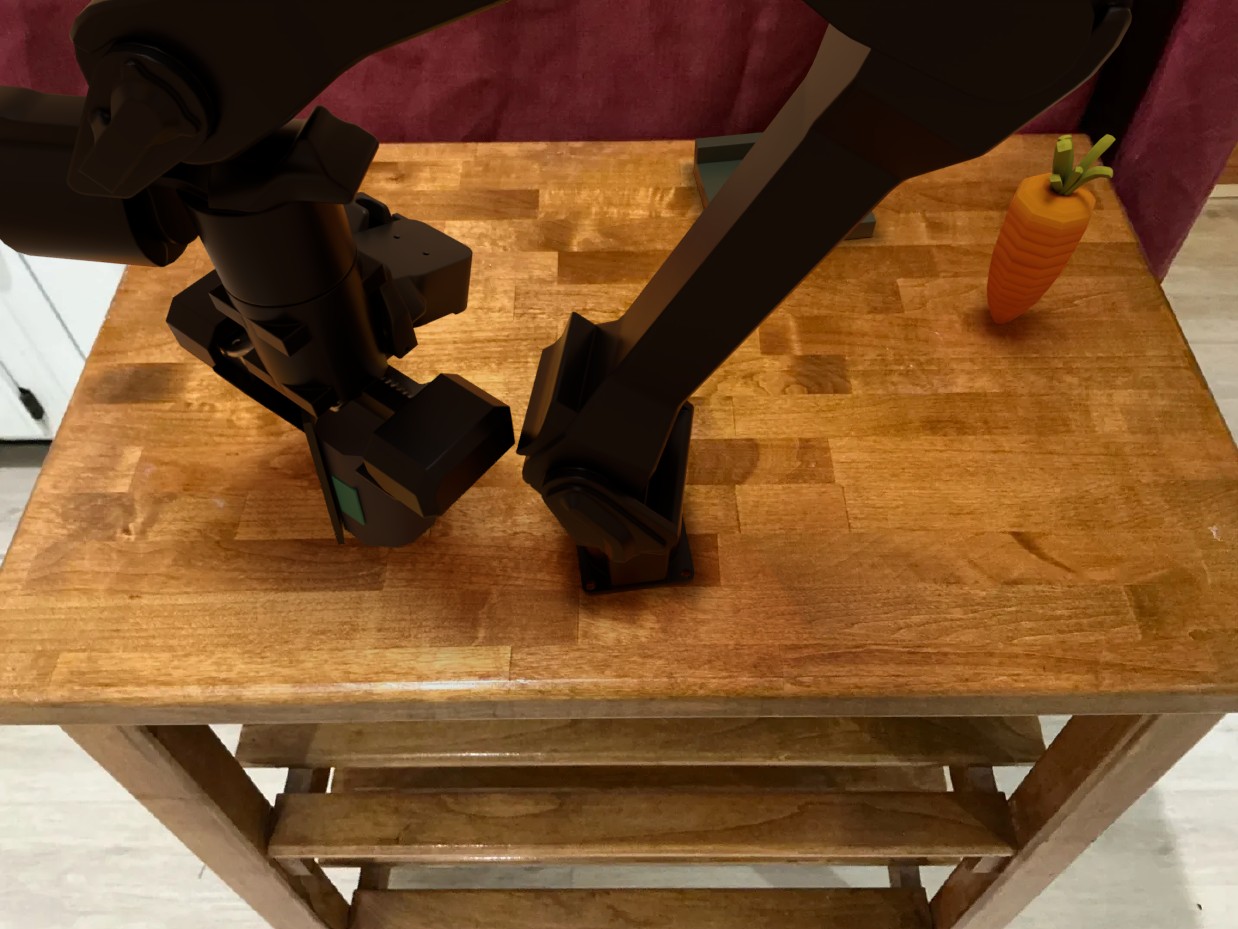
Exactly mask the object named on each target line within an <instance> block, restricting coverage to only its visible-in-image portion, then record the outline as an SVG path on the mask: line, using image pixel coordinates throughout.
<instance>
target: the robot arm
mask: <svg viewBox="0 0 1238 929" xmlns="http://www.w3.org/2000/svg"><path fill="white" fill-rule="evenodd" d="M511 1H512V0H91V1H90V2H89V3H88V4H87V5H86V6H85V7H84V8H83V9H82V10H81V12H80V13H78V15H76V17H75V18H74V20H73V22H72V24H71V27H70V29H69V32H68V37H69V39H70V41H71V43H72V44H73V47H74V53H75V60H76V62H77V64H78V66H79V69H80V71H81V74H82V76H83V77H84V79H85V82H86V84H87V87H88V88H87V92H86V95H75V94H61V93H49V92H42V91H39V90H35V89H31V88H29V87H24V86H14V85H3V84H2V85H1V84H0V241H1V242H2V243H3V244H4V246H7V247H8V248H10V249H12V250H13V251H14V252H16V253H19V254H23V255H26V256H29V257H39V258H48V259H49V258H51V259H61V260H73V261H74V260H75V261H83V262H95V263H104V264H105V263H106V264H115V265H124V266H125V265H127V266H136V267H148V268H166V267H167V266H170V265H171V264H173V263H175V262H176V261H177V260H178V259H179V258H180V257H181V256H182V255H183V254H184V253H185V251H186V249H187V248H188V245H190V244H191V243H193V242H195V241H196V240H197V239H198V238H199V239H200V241H201V243H202V245H203V248H204V249H205V252H206V254H207V255H208V257H209V259H210V262H211V263H212V266H213V267H214V268H213V269H212V270H211V271H209V272H208V273H206V274H204V275H203V276H202V277H201V278H199V279H197V280H196V281H194V282H193V283H192V284H190V285H189V286H187V287H186V288H184V289H183V290H182V291H180V292H178V293H177V294H175V295H174V296H173V297H172V299H171V302H170V305H169V308H168V311H167V314H166V318H165V323H166V324H167V326H168V328H169V330H170V331H171V333H172V334H173V336H174V339H175V340H176V341H177V343H178V344H179V346H180V347H181V348H182V349H184V350H185V351H187V352H188V353H189V354H191V355H192V356H194V357H195V358H197V359H198V360H199V361H201V362H202V363H204V364H205V365H206V366H208V367H209V368H211V369H212V371H213V372H214V373H215V374H216V375H218V376H219V377H220V378H221V379H223V380H224V381H225V382H227V383H229V384H230V385H232V386H233V387H234V388H236V389H237V390H239V391H240V392H241V393H243V394H244V395H245V396H247V397H249V398H250V399H252V400H254V401H255V402H256V403H257V404H259V405H261V406H262V407H264V408H266V410H269V411H270V412H272V413H273V414H275V415H276V416H278V417H279V418H281V419H283V420H284V421H286V422H287V423H288V424H290V425H291V426H293V427H294V428H296V429H298V430H299V431H300V432H302V433H303V434H305V431H304V427H303V424H302V415H301V407H302V408H303V409H305V410H306V411H308V412H309V413H311V414H312V415H314V416H315V417H316V418H319V417H320V416H321V415H322V414H324V413H325V412H326V411H327V410H328V409H331V410H332V411H335V412H337V411H340V410H341V409H343V408H344V407H345V406H346V405H347V404H348V403H349V402H350V401H352V400H353V401H354V402H356V403H357V404H359V405H360V406H362V407H363V408H365V409H366V410H368V411H369V412H371V413H372V414H374V415H375V416H377V417H378V418H380V419H381V420H383V421H384V423H383V424H382V425H381V426H380V427H378V428H377V429H376V430H375V431H374V432H373V433H372V435H371V438H370V440H369V443H368V445H367V448H366V450H365V453H364V455H363V458H362V459H363V461H364V463H363V464H361V465H360V466H359V467H358V468H357V469H356V470H355V471H356V473H357V474H359V475H360V476H361V477H363V478H364V479H366V480H367V481H369V482H370V483H371V484H373V485H374V486H376V487H377V488H378V489H380V490H381V491H383V492H384V493H385V494H387V495H388V496H390V497H391V498H393V499H395V500H399V501H400V502H402V503H403V504H405V505H406V506H408V507H409V508H410V509H412V510H413V511H415V512H416V513H417V514H419V515H420V516H422V517H423V518H428V517H436V516H437V517H442V516H443V515H444V514H445V513H446V512H448V510H449V509H450V508H451V507H452V506H454V504H455V503H457V501H459V499H461V497H462V496H463V495H464V494H465V493H466V492H467V491H468V490H470V489H471V487H472V486H474V485H475V484H476V482H477V481H479V480H480V479H481V478H482V477H483V476H484V475H485V474H486V473H487V472H488V471H489V470H490V469H491V468H492V467H493V466H494V465H495V464H496V463H497V462H498V461H499V460H500V459H501V458H502V457H503V456H504V455H505V454H506V453H507V452H508V451H509V450H510V449H511V448H512V447H514V445H515V444H516V437H515V436H516V434H515V427H514V421H513V417H512V416H513V415H512V410H511V406H510V405H509V404H507V403H506V402H504V401H502V400H500V399H499V398H497V397H496V396H494V395H492V394H491V393H489V392H487V391H486V390H484V389H483V388H481V387H479V386H478V385H476V384H475V383H473V382H471V381H469V380H468V379H466V378H465V377H463V376H462V375H460V374H458V373H446V372H440V373H439V374H438V375H437V376H435V377H434V378H433V379H432V380H431V381H427V382H425V383H419V382H418V381H416V380H414V379H413V378H411V377H410V376H408V375H406V374H405V373H403V372H402V371H400V370H399V369H398V368H395V367H394V366H393V365H391V364H389V363H388V361H389V360H390V359H391V358H392V357H395V358H397V359H399V360H401V359H403V358H404V357H406V356H407V355H408V354H409V353H410V352H411V351H413V350H414V349H415V348H417V347H418V346H419V342H418V338H417V335H416V333H415V329H417V328H421V327H423V326H425V325H429V324H430V323H433V322H435V321H438V320H439V319H440V320H441V319H443V318H444V317H447V316H449V315H451V314H453V315H455V316H457V315H459V314H462V313H463V312H465V311H466V310H467V308H468V303H469V294H470V293H469V291H470V282H471V275H472V274H471V273H472V263H473V256H474V255H473V254H474V253H473V250H472V248H471V247H470V246H468V245H467V244H465V243H463V242H461V241H459V240H457V239H456V238H454V237H452V236H450V235H449V234H446V233H444V232H443V231H440V230H439V229H437V228H436V227H433V226H432V225H430V224H428V223H426V222H425V221H421V220H418V219H412V218H408V217H406V216H404V215H402V214H401V213H400V212H395V213H391V211H390V209H389V206H388V205H387V204H385V203H384V202H383V201H381V200H378V199H377V198H374V197H373V196H372V195H369V194H367V193H365V192H364V191H359V190H360V188H361V186H362V184H363V182H364V180H365V178H366V175H367V174H368V171H369V169H370V167H371V166H372V163H373V161H374V160H375V157H376V155H377V154H378V151H379V149H380V141H379V139H378V137H377V136H375V135H374V134H372V133H371V132H369V131H368V130H366V129H364V128H363V127H362V126H360V125H358V124H356V123H354V122H350V121H346V120H344V119H342V118H339V117H338V116H336V115H334V114H333V113H332V111H330V110H329V109H328V108H327V107H326V106H325V105H322V104H317V105H315V106H314V107H313V108H312V110H311V112H310V113H309V116H308V117H306V118H296V117H297V116H298V115H299V114H300V113H301V112H302V111H303V110H304V109H306V107H307V106H309V105H310V104H311V103H312V102H313V101H314V100H315V99H316V98H318V97H319V95H321V94H322V93H323V92H324V91H325V90H326V89H328V87H329V86H331V85H332V84H333V83H334V82H336V80H337V79H338V78H339V77H341V76H342V75H343V74H344V73H346V72H348V71H349V70H351V68H353V67H355V66H356V65H357V64H359V63H361V62H362V61H363V60H365V59H366V58H368V57H370V56H373V55H375V54H378V53H380V52H383V51H386V50H388V49H390V48H393V47H395V46H398V45H400V44H401V45H402V44H403V43H406V42H409V41H412V40H413V39H417V38H419V37H421V36H422V37H423V36H424V35H426V34H429V33H431V32H434V31H437V30H439V29H442V28H444V27H448V26H450V25H452V24H455V23H457V22H460V21H462V20H465V19H467V18H470V17H473V16H475V15H477V14H481V13H483V12H486V11H488V10H491V9H493V8H495V7H499V6H502V5H503V4H506V3H509V2H511ZM801 1H802V2H804V4H806V5H807V6H808V7H809V8H811V9H812V10H813V11H814V12H815V13H817V14H818V15H819V16H820V17H821V18H822V19H824V20H825V21H826V22H827V23H828V25H827V28H826V31H825V33H824V35H823V38H822V40H821V42H820V43H821V44H820V46H819V48H818V50H817V53H816V55H815V58H814V61H813V62H812V65H811V67H810V68H809V70H808V72H807V74H806V76H805V77H804V79H803V80H802V81H801V83H800V85H799V86H798V87H797V88H796V90H795V91H794V92H793V93H792V95H791V96H790V97H789V98H788V100H787V101H786V102H785V104H784V105H783V106H782V108H781V109H780V110H779V111H778V112H777V114H776V115H775V117H774V118H773V120H772V121H771V122H770V123H769V125H768V126H767V128H766V129H765V130H764V131H763V132H764V133H763V134H762V135H761V136H760V138H759V139H758V140H757V142H756V143H755V144H754V146H753V147H752V148H751V150H750V151H749V152H748V153H747V155H746V156H745V157H744V159H743V160H742V161H741V163H740V164H739V165H738V166H737V168H736V169H735V170H734V172H733V173H732V174H731V176H730V177H729V178H728V179H727V181H726V182H725V183H724V185H723V186H722V187H721V189H720V190H719V191H718V193H717V194H716V195H715V196H714V198H713V199H712V200H711V202H710V203H709V204H708V206H707V207H706V208H705V209H703V211H702V212H701V213H700V215H698V217H697V218H696V220H695V221H694V222H693V224H692V225H691V226H690V227H689V229H688V230H687V232H686V233H685V234H684V236H682V238H681V239H680V240H679V242H678V243H677V245H675V247H674V248H673V250H671V252H670V254H669V255H668V256H667V257H666V259H665V260H664V261H663V263H662V264H661V266H660V267H659V268H658V269H657V271H656V272H655V273H654V275H653V276H652V277H651V278H650V280H649V281H648V282H647V284H646V285H645V286H644V287H643V289H642V290H641V291H640V293H639V294H638V295H637V296H636V298H635V299H634V301H633V302H632V303H631V304H630V306H629V307H628V308H627V310H626V311H625V312H624V313H623V314H622V315H621V316H620V317H619V318H617V319H615V320H609V321H605V322H600V323H594V322H592V321H591V320H589V319H588V318H586V317H584V316H583V315H581V314H580V313H578V312H576V311H571V312H570V314H569V317H568V320H567V322H566V324H565V327H564V330H563V332H562V334H561V336H559V338H557V339H556V340H555V342H553V343H552V344H550V345H548V346H546V347H544V348H542V350H541V353H540V357H539V361H538V365H537V369H536V372H535V376H534V380H533V384H532V388H531V391H530V396H529V400H528V402H527V408H526V411H525V415H524V418H523V423H522V426H521V430H520V435H519V438H518V441H517V442H518V443H517V445H516V450H515V454H516V455H518V456H521V457H524V461H523V465H522V470H521V478H522V480H523V481H524V483H525V484H526V485H530V487H531V488H532V490H534V491H535V492H537V493H538V494H539V495H540V496H541V499H542V501H543V503H544V504H545V505H546V507H547V508H548V509H549V511H550V512H551V513H552V515H553V516H554V517H555V519H556V520H557V522H558V523H559V524H560V525H561V527H562V528H563V529H564V531H565V532H566V533H567V535H568V536H569V537H570V539H571V540H572V541H573V542H574V544H575V545H576V554H577V555H576V556H577V562H578V569H579V577H580V578H579V579H580V586H581V592H582V593H583V594H584V595H585V596H587V597H596V596H604V595H610V594H611V595H613V594H620V593H621V594H622V593H628V592H636V591H643V590H650V589H657V588H667V587H673V586H682V585H689V584H691V583H693V582H694V580H695V576H696V575H695V574H696V571H695V567H694V562H693V557H692V553H691V548H690V547H691V546H690V543H689V537H688V533H687V527H686V524H685V518H684V514H683V510H684V498H685V491H686V490H685V489H686V482H687V481H686V480H687V472H688V465H689V455H690V450H691V449H690V448H691V438H692V432H693V431H692V430H693V425H694V423H693V422H694V416H695V406H694V404H692V403H691V402H690V401H688V400H689V399H690V398H691V397H692V396H693V395H694V394H695V393H696V391H698V390H699V389H700V387H702V385H703V384H705V383H706V382H707V381H708V379H709V378H710V377H712V375H713V374H714V373H715V372H717V370H718V369H719V368H720V367H721V366H722V365H723V364H724V363H725V362H726V361H727V360H728V359H729V358H730V357H731V356H732V355H733V354H734V353H735V352H736V351H737V350H738V349H739V348H740V346H742V345H743V343H744V342H745V341H746V340H748V339H749V338H750V337H751V335H752V334H753V333H754V332H755V331H757V330H758V328H759V327H760V326H761V325H762V324H763V323H764V322H765V321H766V320H767V319H768V318H769V317H770V316H771V315H772V314H773V313H774V312H775V311H776V310H777V309H778V308H779V307H780V306H781V305H782V304H783V302H785V301H786V300H787V299H788V298H789V297H790V296H791V294H793V293H794V292H795V290H797V288H798V287H799V286H800V285H801V284H802V283H803V282H804V281H805V280H806V279H807V278H808V277H809V276H811V275H812V273H813V272H814V271H815V270H816V269H817V268H818V267H819V266H820V265H821V264H822V263H823V262H824V261H825V260H826V259H827V258H828V257H829V255H830V254H832V253H833V251H834V250H836V248H837V247H838V246H839V245H840V244H841V243H842V242H843V241H845V240H846V239H845V238H846V237H847V236H848V235H849V234H850V233H851V232H852V231H853V230H854V229H855V228H856V227H857V226H858V225H859V224H860V223H861V222H862V221H863V220H864V219H865V218H866V217H867V216H868V215H869V213H870V212H871V211H872V212H873V211H874V210H875V209H876V208H877V207H878V206H879V205H880V204H881V202H882V201H883V200H885V199H886V197H887V196H888V195H889V194H891V192H893V191H894V190H895V189H896V188H897V187H899V186H900V185H901V184H903V183H904V182H906V181H908V180H910V179H913V178H916V177H919V176H922V175H923V176H924V175H925V174H929V173H932V172H935V171H940V170H942V169H945V168H946V169H947V168H949V167H952V166H955V165H958V164H962V163H965V162H969V161H972V160H975V159H978V158H981V157H983V156H985V155H986V154H989V152H992V150H994V149H995V148H996V147H998V146H1000V145H1001V144H1002V143H1003V142H1005V141H1006V140H1008V139H1009V138H1010V137H1012V136H1013V135H1015V134H1016V133H1017V132H1019V131H1021V129H1023V128H1024V127H1026V126H1027V125H1029V124H1030V123H1031V122H1032V121H1034V120H1035V119H1037V118H1038V117H1040V116H1042V115H1043V114H1044V113H1045V112H1047V111H1048V110H1050V109H1051V108H1052V107H1054V106H1055V105H1056V104H1058V103H1059V102H1061V101H1062V100H1064V99H1065V98H1066V97H1068V96H1069V95H1070V94H1072V93H1073V92H1074V91H1076V90H1077V89H1078V88H1080V87H1081V86H1082V85H1083V84H1084V83H1086V82H1087V81H1089V80H1090V79H1091V78H1092V77H1093V76H1094V75H1096V73H1097V72H1098V70H1099V69H1100V68H1101V67H1102V66H1103V65H1104V64H1105V62H1106V61H1107V60H1108V59H1109V58H1110V56H1111V55H1112V54H1113V53H1114V52H1115V50H1116V49H1117V48H1118V47H1119V45H1120V44H1121V42H1122V40H1123V38H1124V37H1125V35H1126V33H1127V31H1128V29H1129V27H1130V25H1131V23H1132V20H1133V19H1132V18H1133V15H1132V12H1131V11H1132V8H1133V6H1134V0H801ZM684 573H687V574H688V576H685V575H683V574H684ZM590 585H592V586H593V588H588V586H590Z"/></svg>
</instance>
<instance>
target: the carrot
mask: <svg viewBox="0 0 1238 929" xmlns="http://www.w3.org/2000/svg"><path fill="white" fill-rule="evenodd" d="M1115 141H1116V138H1115V137H1114V136H1113V135H1110V134H1105V135H1104V136H1103V137H1102V138H1100V139H1099V140H1098V141H1097V142H1096V143H1095V144H1094V145H1093V146H1092V148H1090V150H1089V151H1088V153H1086V155H1085V156H1084V158H1082V160H1081V161H1080V162H1079V164H1078V165H1077V166H1075V167H1074V162H1075V150H1074V149H1075V146H1074V141H1073V136H1072V135H1071V134H1064V135H1061V136H1060V137H1058V138H1057V141H1056V144H1055V147H1054V151H1053V158H1052V169H1051V172H1048V173H1047V172H1046V173H1042V174H1037V175H1033V176H1029V177H1026V178H1023V179H1022V180H1021V182H1020V183H1019V185H1018V187H1017V188H1016V191H1015V193H1014V196H1013V197H1012V200H1011V202H1010V204H1009V207H1008V210H1007V212H1006V215H1005V217H1004V219H1003V221H1002V225H1001V228H1000V230H999V234H998V236H997V238H996V242H995V245H994V248H993V250H992V253H991V257H990V258H991V259H990V263H989V268H988V275H987V282H986V298H987V305H988V310H989V313H990V317H991V319H992V320H993V321H994V323H995V324H997V325H1003V324H1007V323H1009V322H1011V321H1014V319H1017V318H1018V317H1020V316H1022V315H1024V314H1025V313H1026V312H1028V310H1030V309H1031V308H1032V307H1033V306H1034V305H1037V303H1038V302H1039V300H1041V299H1042V297H1043V296H1044V295H1045V294H1046V293H1047V291H1048V290H1049V289H1050V288H1051V287H1052V286H1053V284H1054V283H1055V282H1056V281H1057V279H1058V278H1059V277H1060V275H1061V274H1062V272H1063V270H1064V269H1065V267H1066V266H1067V264H1068V262H1069V260H1070V259H1071V257H1073V256H1072V255H1073V254H1074V252H1075V250H1076V249H1077V247H1078V245H1079V243H1080V242H1081V240H1082V238H1083V236H1084V235H1085V232H1086V231H1087V229H1088V226H1089V223H1090V221H1091V218H1092V215H1093V212H1094V209H1095V208H1096V202H1097V198H1095V196H1094V195H1093V193H1091V191H1090V190H1089V189H1088V188H1087V186H1085V184H1086V183H1088V182H1091V181H1093V180H1096V179H1100V178H1104V179H1112V178H1113V177H1114V169H1113V168H1111V167H1110V166H1105V165H1097V166H1093V167H1092V165H1093V164H1094V163H1095V162H1096V161H1097V160H1098V159H1099V158H1100V157H1101V155H1103V153H1105V152H1106V151H1107V150H1108V149H1109V148H1110V147H1111V146H1112V145H1113V143H1114V142H1115ZM1090 167H1091V168H1090Z"/></svg>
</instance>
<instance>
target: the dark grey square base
mask: <svg viewBox="0 0 1238 929" xmlns="http://www.w3.org/2000/svg"><path fill="white" fill-rule="evenodd" d="M763 133H764V131H763V132H753V133H743V134H742V133H741V134H731V135H720V136H709V137H698V138H695V139H694V150H693V151H694V152H693V168H692V171H693V174H694V178H695V181H696V185H697V188H698V192H699V195H700V198H701V201H702V206H703V208H704V209H705V208H706V207H707V206H708V204H709V203H710V202H711V200H712V199H713V198H714V196H715V195H716V194H717V193H718V191H719V190H720V189H721V187H722V186H723V185H724V183H725V182H726V181H727V179H728V178H729V177H730V176H731V174H732V173H733V172H734V170H735V169H736V168H737V166H738V165H739V164H740V163H741V161H742V160H743V159H744V157H745V156H746V155H747V153H748V152H749V151H750V150H751V148H752V147H753V146H754V144H755V143H756V142H757V140H758V139H759V138H760V136H761V135H762V134H763ZM704 209H703V210H704ZM876 224H877V219H876V217H875V214H874V213H873V210H872V211H871V212H870V213H869V215H868V216H867V217H866V218H865V219H864V220H863V221H862V222H861V223H860V224H859V225H858V226H857V227H856V228H855V229H854V230H853V231H852V232H851V233H850V234H849V235H848V236H847V237H846V238H845V239H844V240H851V239H852V240H854V239H862V238H871V237H873V236H874V232H875V228H876Z"/></svg>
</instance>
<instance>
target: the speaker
mask: <svg viewBox="0 0 1238 929" xmlns="http://www.w3.org/2000/svg"><path fill="white" fill-rule="evenodd" d="M301 415H302V424H303V427H304V431H305V433H304V434H305V437H306V441H307V444H308V447H309V451H310V454H311V458H312V462H313V464H314V469H315V471H316V474H317V475H316V476H317V478H318V482H319V486H320V489H321V492H322V494H323V499H324V503H325V505H326V509H327V513H328V516H329V520H330V522H331V526H332V529H333V533H334V536H335V540H336V543H337V545H338V546H343V545H346V540H345V533H344V532H345V531H346V532H347V533H348V534H350V535H351V536H353V537H354V538H355V539H356V540H358V541H359V542H360V543H362V544H363V545H364V546H366V547H379V548H380V547H381V548H401V547H404V546H407V545H410V544H413V543H415V542H416V541H417V540H418V539H419V538H421V537H422V536H423V535H424V534H426V533H427V531H429V530H430V529H431V528H432V527H434V526H435V525H436V524H437V519H438V516H436V517H428V518H423V517H422V516H420V515H419V514H417V513H416V512H415V511H413V510H412V509H410V508H409V507H408V506H406V505H405V504H403V503H402V502H400V501H399V500H395V499H393V498H391V497H390V496H388V495H387V494H385V493H384V492H383V491H381V490H380V489H378V488H377V487H376V486H374V485H373V484H371V483H370V482H369V481H367V480H366V479H364V478H363V477H361V476H360V475H359V474H357V473H356V471H355V470H356V469H357V468H358V467H359V466H360V465H361V464H363V463H364V461H363V459H362V458H363V455H364V453H365V450H366V448H367V445H368V443H369V440H370V438H371V435H372V433H373V432H374V431H375V430H376V429H377V428H378V427H380V426H381V425H382V424H383V423H384V421H383V420H381V419H380V418H378V417H377V416H375V415H374V414H372V413H371V412H369V411H368V410H366V409H365V408H363V407H362V406H360V405H359V404H357V403H356V402H354V401H353V400H352V401H350V402H349V403H348V404H347V405H346V406H345V407H344V408H343V409H341V410H340V411H337V412H335V411H332V410H331V409H328V410H327V411H326V412H325V413H324V414H322V415H321V416H320V417H319V418H316V417H315V416H314V415H312V414H311V413H309V412H308V411H306V410H305V409H303V408H302V407H301ZM344 530H345V531H344Z"/></svg>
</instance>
